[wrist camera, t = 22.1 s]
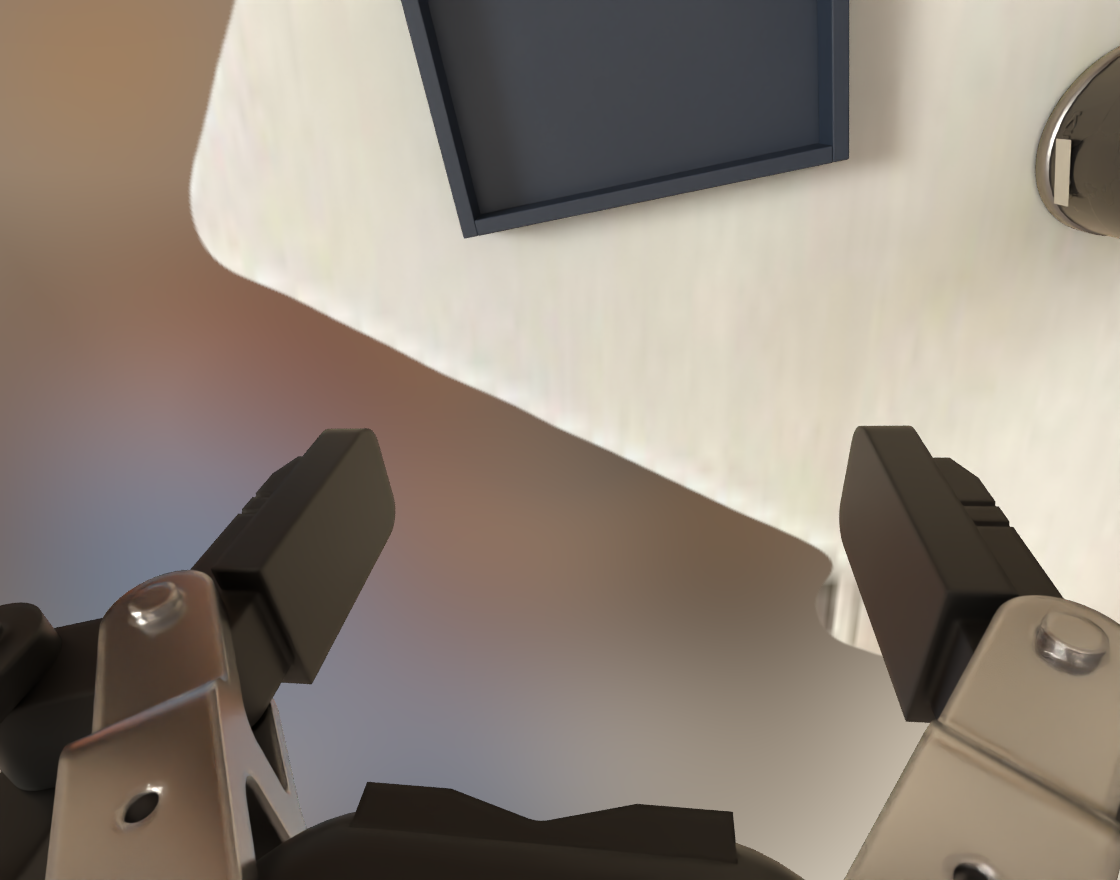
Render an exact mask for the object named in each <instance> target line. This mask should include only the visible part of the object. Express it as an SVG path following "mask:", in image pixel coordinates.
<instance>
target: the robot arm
mask: <svg viewBox="0 0 1120 880" xmlns="http://www.w3.org/2000/svg"><path fill="white" fill-rule="evenodd" d="M1035 168H1036V182H1037V187H1038V191H1039V194H1040V197H1041V199H1042V201H1043V203H1044V205H1045V206H1046V208H1047V209H1048V210H1049V212H1050V213H1051V214H1052V215H1053V216H1054V217H1055V218H1056V219H1058V220H1059V221H1060V222H1062V223H1063V224H1065V225H1067V226H1069V227H1071V228H1074V229H1077V230H1080V231H1084V232H1088V233H1092V234H1096V235H1102V236H1111V237H1115V238H1119V239H1120V46H1119V47H1118V48H1116V49H1114V50H1112V51H1111V52H1109V53H1108V54H1106V55H1105V56H1103V57H1102V58H1100V59H1099V60H1098V61H1096V62H1095V63H1094V64H1092V65H1091V66H1090V67H1089V68H1088V69H1087V70H1086V71H1084V72H1083V73H1082V74H1081V75H1080V76H1079V77H1078V78H1077V79H1076V80H1075V81H1074V83H1073V84H1072V85H1071V86H1070V87H1069V88H1068V90H1067V91H1066V92H1065V94H1064V95H1063V96H1062V98H1061V99H1060V100H1059V102H1058V103H1057V105H1056V107H1055V108H1054V110H1053V112H1052V113H1051V115H1050V117H1049V119H1048V121H1047V123H1046V126H1045V128H1044V130H1043V133H1042V136H1041V139H1040V142H1039V146H1038V150H1037V156H1036V167H1035ZM394 520H395V502H394V497H393V493H392V490H391V486H390V482H389V479H388V476H387V472H386V468H385V465H384V461H383V458H382V454H381V451H380V447H379V444H378V440H377V437H376V435H375V434H374V432H373V431H372V430H370V429H327V430H325V431H323V432H322V434H321V435H320V436H319V437H318V438H317V440H316V441H315V442H314V443H313V444H312V446H311V447H310V448H309V449H308V450H307V452H306V453H305V454H304V455H303V456H302V457H301V456H300V457H297V458H295V459H294V460H292V461H291V462H289V463H288V464H286V465H285V466H284V467H282V468H280V469H279V470H277V471H276V472H274V473H273V474H272V475H271V476H270V477H269V479H268V480H267V481H266V482H265V483H264V484H263V486H262V487H261V488H260V489H259V490H258V491H257V493H256V497H252V499H251V500H250V501H249V502H248V503H247V504H246V505H245V507H244V508H243V509H242V514H238V515H237V516H236V517H235V518H234V519H233V520H232V522H231V523H230V524H229V525H228V526H227V528H226V529H225V530H224V531H223V532H222V533H221V534H220V536H219V537H218V538H217V539H216V540H215V541H214V543H213V544H212V545H211V546H210V547H209V549H208V550H207V551H206V552H205V553H204V554H203V555H202V557H201V558H200V559H199V560H198V561H197V562H196V564H195V565H194V566H193V567H192V568H191V570H181V571H174V572H170V573H166V574H163V575H159V576H157V577H154V578H152V579H150V580H147V581H145V582H143V583H142V584H139V585H138V586H136V587H134V588H133V589H131V590H130V591H128V592H127V593H126V594H124V595H123V596H122V597H120V598H119V599H118V600H117V601H116V602H115V603H114V604H113V605H112V606H111V607H110V608H109V610H108V611H107V612H106V614H105V615H104V617H103V618H100V619H96V620H90V621H86V622H81V623H76V624H72V625H67V626H63V627H57V628H53V627H52V625H51V624H50V623H49V622H48V620H47V619H46V617H45V616H44V614H43V613H42V612H41V610H40V609H39V608H38V607H37V606H35V605H33V604H29V603H11V604H5V605H1V606H0V770H1V773H0V880H804V879H803V878H802V877H800V876H799V875H797V874H795V873H794V872H793V871H791V870H790V869H788V868H787V867H785V866H783V865H782V864H780V863H779V862H777V861H775V860H773V859H771V858H769V857H767V856H765V855H763V854H762V853H760V852H758V851H756V850H754V849H751V848H748V847H746V846H743V845H740V844H738V843H736V842H735V831H734V821H733V812H729V811H716V810H703V809H692V808H680V807H668V806H655V805H643V804H634V805H629V806H623V807H618V808H613V809H607V810H602V811H596V812H591V813H585V814H580V815H575V816H569V817H564V818H558V819H553V820H547V821H536V820H532V819H528V818H526V817H523V816H520V815H518V814H515V813H513V812H510V811H507V810H505V809H502V808H500V807H497V806H495V805H492V804H489V803H487V802H484V801H482V800H479V799H476V798H474V797H471V796H469V795H466V794H464V793H461V792H458V791H456V790H453V789H448V788H436V787H424V786H411V785H399V784H387V783H375V782H367V784H366V787H365V789H364V792H363V795H362V797H361V800H360V802H359V805H358V807H357V810H356V812H353V813H348V814H345V815H342V816H339V817H336V818H333V819H330V820H326V821H324V822H322V823H320V824H317V825H315V826H313V827H310V828H308V829H307V827H306V824H305V821H304V819H303V815H302V812H301V809H300V805H299V801H298V796H297V792H296V787H295V783H294V778H293V774H292V769H291V765H290V760H289V756H288V751H287V747H286V743H285V738H284V734H283V729H282V725H281V720H280V716H279V711H278V708H277V706H276V704H275V702H274V700H273V696H274V694H275V692H276V691H277V689H278V688H279V686H280V684H281V683H299V684H312V683H313V681H314V679H315V677H316V675H317V673H318V672H319V670H320V668H321V666H322V664H323V662H324V660H325V658H326V656H327V654H328V652H329V650H330V649H331V647H332V645H333V643H334V641H335V639H336V637H337V635H338V633H339V632H340V630H341V627H342V626H343V624H344V622H345V620H346V618H347V616H348V614H349V612H350V610H351V609H352V607H353V605H354V603H355V601H356V599H357V597H358V595H359V593H360V591H361V590H362V588H363V586H364V584H365V582H366V580H367V578H368V576H369V574H370V572H371V570H372V569H373V567H374V565H375V563H376V561H377V559H378V557H379V555H380V553H381V552H382V550H383V548H384V546H385V544H386V542H387V540H388V538H389V536H390V534H391V532H392V529H393V526H394ZM839 522H840V533H841V538H842V542H843V546H844V548H845V551H846V554H847V557H848V560H849V563H850V565H851V568H852V571H853V574H854V577H855V579H856V582H857V585H858V588H859V591H860V594H861V596H862V599H863V602H864V605H865V608H866V610H867V613H868V616H869V619H870V622H871V625H872V627H873V630H874V633H875V636H876V639H877V641H878V644H879V647H880V650H881V653H882V655H883V658H884V661H885V664H886V667H887V670H888V672H889V675H890V678H891V681H892V684H893V686H894V689H895V692H896V695H897V698H898V701H899V703H900V706H901V709H902V712H903V715H904V717H905V720H906V721H908V722H925V723H930V724H929V726H928V727H927V729H926V730H925V732H924V734H923V736H922V738H921V739H920V741H919V743H918V745H917V747H916V748H915V750H914V752H913V754H912V756H911V758H910V759H909V761H908V763H907V765H906V767H905V769H904V770H903V772H902V774H901V776H900V778H899V780H898V781H897V783H896V785H895V787H894V789H893V791H892V792H891V794H890V796H889V798H888V800H887V802H886V803H885V805H884V807H883V809H882V811H881V812H880V814H879V817H878V818H877V820H876V822H875V823H874V825H873V827H872V829H871V831H870V833H869V835H868V836H867V838H866V840H865V842H864V844H863V845H862V848H861V849H860V851H859V853H858V855H857V857H856V858H855V860H854V862H853V864H852V866H851V867H850V869H849V871H848V873H847V875H846V877H845V878H844V880H1117V878H1118V874H1119V870H1120V624H1118V623H1117V622H1115V621H1114V620H1112V619H1111V618H1109V617H1107V616H1105V615H1103V614H1102V613H1100V612H1098V611H1096V610H1094V609H1091V608H1089V607H1087V606H1084V605H1082V604H1079V603H1076V602H1073V601H1070V600H1066V599H1064V598H1063V597H1062V595H1061V594H1060V593H1059V591H1058V590H1057V588H1056V587H1055V586H1054V584H1053V583H1052V581H1051V580H1050V578H1049V577H1048V576H1047V574H1046V573H1045V571H1044V570H1043V569H1042V567H1041V566H1040V564H1039V563H1038V561H1037V560H1036V559H1035V557H1034V556H1033V554H1032V553H1031V552H1030V550H1029V549H1028V547H1027V546H1026V544H1025V543H1024V542H1023V540H1022V539H1021V537H1020V536H1019V535H1018V533H1017V532H1016V530H1015V529H1014V527H1010V526H1009V520H1008V519H1007V518H1006V516H1005V515H1004V513H1003V512H1002V510H1001V509H1000V508H999V507H996V506H995V501H994V499H993V498H992V496H991V495H990V493H989V492H988V491H987V489H986V488H985V486H984V485H983V484H982V482H981V481H980V479H979V478H978V477H976V476H975V475H974V474H972V473H971V472H969V471H968V470H966V469H965V468H963V467H962V466H961V465H959V464H958V463H956V462H955V461H953V460H952V459H951V458H933V457H932V456H931V454H930V453H929V451H928V449H927V448H926V446H925V445H924V443H923V442H922V440H921V438H920V437H919V435H918V434H917V432H916V431H915V429H914V428H913V427H912V426H859V427H857V428H856V430H855V432H854V434H853V438H852V443H851V448H850V454H849V459H848V465H847V470H846V475H845V481H844V486H843V492H842V497H841V503H840V513H839Z"/></svg>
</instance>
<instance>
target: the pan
mask: <svg viewBox="0 0 1120 880" xmlns="http://www.w3.org/2000/svg"><path fill="white" fill-rule="evenodd" d="M401 2H402V6H403V10H404V13H405V17H406V21H407V25H408V29H409V32H410V36H411V40H412V44H413V47H414V51H415V55H416V59H417V63H418V66H419V70H420V74H421V78H422V82H423V85H424V89H425V93H426V97H427V100H428V104H429V108H430V112H431V116H432V119H433V123H434V127H435V131H436V135H437V138H438V142H439V146H440V150H441V153H442V157H443V161H444V165H445V169H446V172H447V176H448V180H449V184H450V188H451V191H452V195H453V199H454V203H455V206H456V210H457V214H458V218H459V222H460V225H461V229H462V233H463V237H464V238H470V237H475V236H478V235H484V234H489V233H494V232H499V231H504V230H508V229H513V228H518V227H523V226H528V225H533V224H538V223H542V222H547V221H552V220H557V219H562V218H567V217H571V216H576V215H581V214H586V213H591V212H596V211H601V210H605V209H610V208H615V207H620V206H625V205H630V204H634V203H639V202H644V201H649V200H654V199H659V198H664V197H668V196H673V195H678V194H683V193H688V192H693V191H697V190H702V189H707V188H712V187H717V186H722V185H727V184H731V183H736V182H741V181H746V180H751V179H756V178H760V177H765V176H770V175H775V174H780V173H785V172H790V171H794V170H799V169H804V168H809V167H814V166H819V165H823V164H828V163H832V162H837V161H842V160H847V159H849V0H401Z"/></svg>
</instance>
